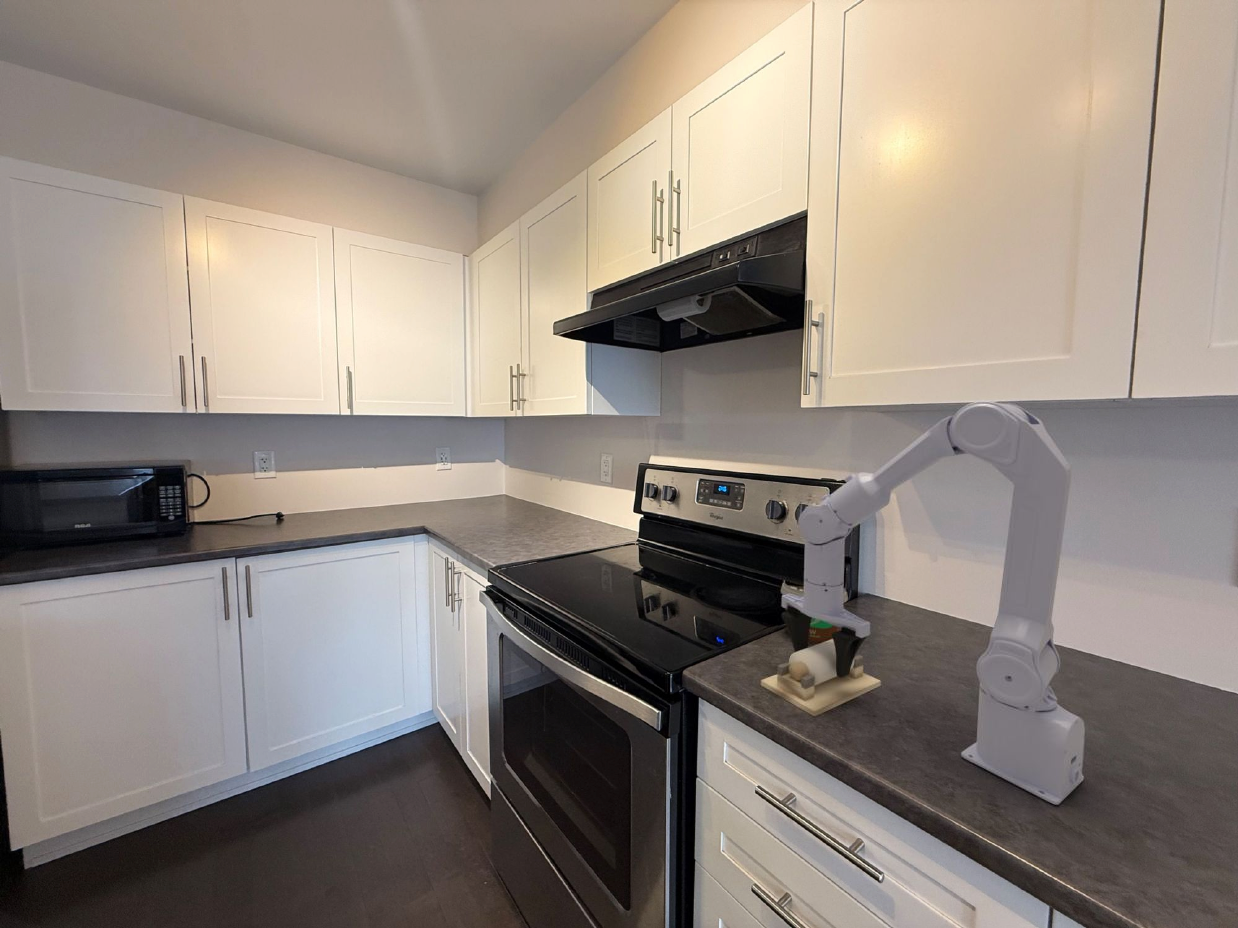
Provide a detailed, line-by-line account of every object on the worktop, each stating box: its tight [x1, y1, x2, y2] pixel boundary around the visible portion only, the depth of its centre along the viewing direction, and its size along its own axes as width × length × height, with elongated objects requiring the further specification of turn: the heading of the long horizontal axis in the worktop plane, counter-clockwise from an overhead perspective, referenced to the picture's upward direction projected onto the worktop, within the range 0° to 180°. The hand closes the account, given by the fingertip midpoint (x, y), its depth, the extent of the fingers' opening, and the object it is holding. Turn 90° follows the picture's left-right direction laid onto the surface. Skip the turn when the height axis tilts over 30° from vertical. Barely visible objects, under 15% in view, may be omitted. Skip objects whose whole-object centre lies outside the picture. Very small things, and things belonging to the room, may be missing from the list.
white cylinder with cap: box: [788, 639, 854, 686], centre depth 78 cm, size 5×12×5 cm, turn 121°
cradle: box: [760, 654, 882, 718], centre depth 78 cm, size 10×16×4 cm, turn 121°
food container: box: [780, 579, 849, 645], centre depth 95 cm, size 12×6×10 cm, turn 62°
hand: (821, 664), depth 78 cm, fingers open, 7 cm apart
